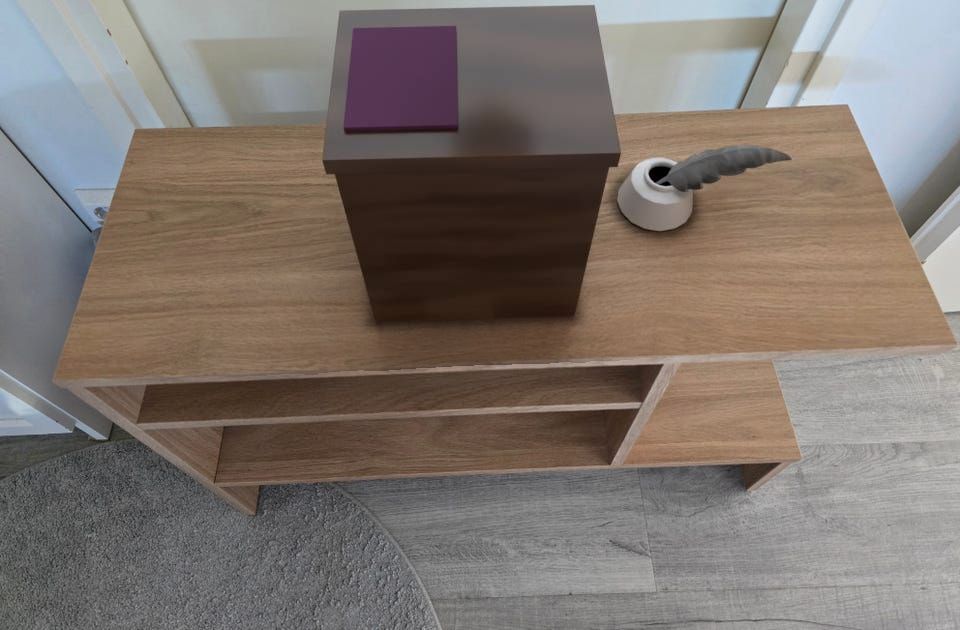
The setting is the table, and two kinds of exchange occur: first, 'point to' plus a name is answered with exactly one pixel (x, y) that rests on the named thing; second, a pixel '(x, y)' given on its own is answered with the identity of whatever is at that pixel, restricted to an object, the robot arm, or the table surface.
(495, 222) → the box
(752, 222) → the table surface
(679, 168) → the inkwell
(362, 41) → the purple rectangular slab
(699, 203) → the table surface
